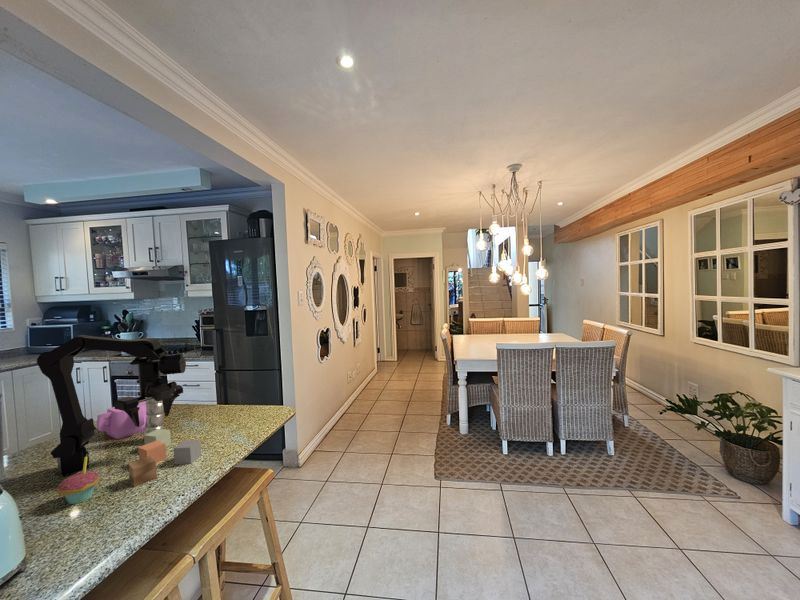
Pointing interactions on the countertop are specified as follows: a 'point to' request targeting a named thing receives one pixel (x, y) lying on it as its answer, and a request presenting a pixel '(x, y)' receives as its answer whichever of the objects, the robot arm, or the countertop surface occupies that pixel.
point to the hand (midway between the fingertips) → (152, 421)
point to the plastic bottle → (153, 416)
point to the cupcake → (79, 485)
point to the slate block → (187, 452)
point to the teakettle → (121, 422)
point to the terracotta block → (153, 451)
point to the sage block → (158, 436)
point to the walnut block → (142, 471)
